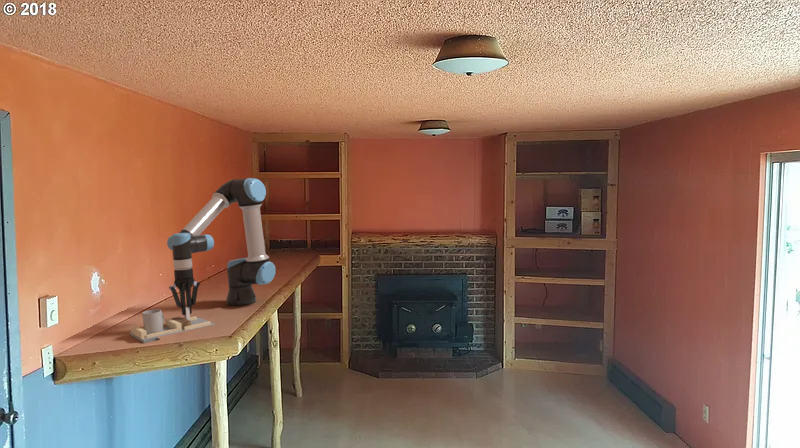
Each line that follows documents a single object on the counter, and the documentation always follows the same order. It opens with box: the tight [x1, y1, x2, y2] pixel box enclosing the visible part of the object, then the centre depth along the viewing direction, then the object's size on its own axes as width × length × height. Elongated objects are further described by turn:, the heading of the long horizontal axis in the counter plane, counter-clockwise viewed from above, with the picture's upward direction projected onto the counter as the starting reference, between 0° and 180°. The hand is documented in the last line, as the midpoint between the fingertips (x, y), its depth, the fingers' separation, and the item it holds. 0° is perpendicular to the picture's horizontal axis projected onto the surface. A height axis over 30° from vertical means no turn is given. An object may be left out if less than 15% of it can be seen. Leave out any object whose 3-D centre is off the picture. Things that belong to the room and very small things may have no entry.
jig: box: [129, 315, 216, 344], centre depth 226 cm, size 30×18×4 cm, turn 134°
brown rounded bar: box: [170, 316, 191, 330], centre depth 229 cm, size 4×12×3 cm, turn 43°
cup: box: [142, 309, 165, 335], centre depth 222 cm, size 7×10×9 cm
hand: (187, 321), depth 231 cm, fingers closed
